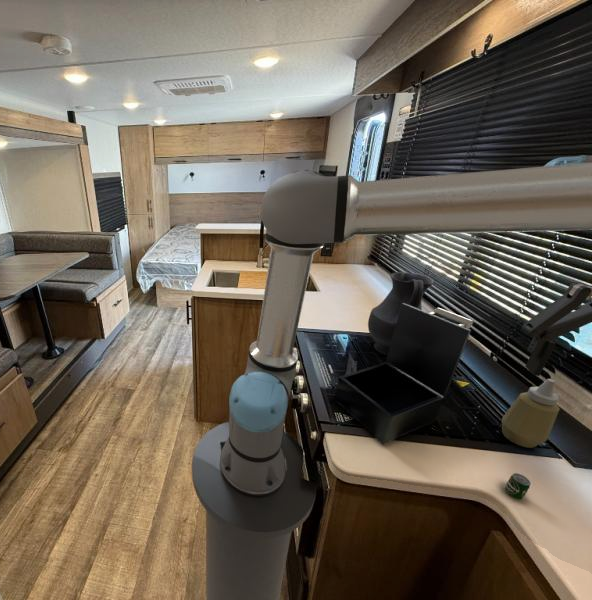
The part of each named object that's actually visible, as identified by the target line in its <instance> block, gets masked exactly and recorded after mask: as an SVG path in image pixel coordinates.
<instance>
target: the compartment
mask: <svg viewBox="0 0 592 600" xmlns="http://www.w3.org/2000/svg"><path fill="white" fill-rule="evenodd" d="M444 398H445V396H443V395H441V394H440V393H438V392H436V391H435V390H433V389H431V388H430V387H428V386H426V385H425V384H423V383H422V382H420V381H418V380H417V379H415V378H413V377H412V376H410V375H408V374H407V373H405V372H403V371H402V370H400V369H398V368H397V367H395V366H394V365H392V364H390V363H389V362H387V361H385V362H383V363H380V364H376V365H372V366H369V367H366V368H363V369H360V370H359V369H358V370H355V371H353V372H350V373H346V374H343V375H340V376H338V380H337V384H336V388H335V394H334V399H333V402H334V403H335V404H336V405H337V406H338V407H340V409H342V410H343V411H344V412H345V413H346V414H348V415H349V416H350V418H352V419H353V420H354V421H355V422H356V423H358V424H359V425H360V426H361V427H362V428H364V430H366V432H368V433H369V434H370V435H372V436H373V437H374V438H375V439H376V440H377V441H378V442H380V443H381V445H386V444H388V443H390V442H393V441H395V440H398V439H400V438H402V437H405V436H407V435H409V434H412V433H414V432H417V431H419V430H421V429H424V428H426V427H428V426H432V425H433V424H434V423H435V422H436V419H437V416H438V413H439V412H440V408H441V406H442V404H443V401H444Z"/></svg>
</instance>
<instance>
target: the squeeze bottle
mask: <svg viewBox="0 0 592 600" xmlns="http://www.w3.org/2000/svg"><path fill="white" fill-rule="evenodd" d="M555 385H556V380H554V379H552V378H547V379H545V380H544V381H543V383H541V384H540V385H539V386H530V387H529V388H528V391H527V392H521V393H520V394H519V395H518V396H517V398H516V399H515V400H514V401H513V403H512V405H510V407H509V408H508V409H507V411H505V414H504V415H503V416H502V418H501V431H502V435H503V436H504V437H505V438H506V439H507V440H509V441H510V442H511V443H513V444H515V445H517V446H520V447H523V448H528V449H533V448H535V447H537V446H539V445H541V444H543V443H544V442H546V441H548V440H549V437H550V434H551V432H552V429H553V427H554V425H555V422H556V419H557V417H558V414H559V411H560V407H559V405H558V404H557V403H558V401H559V399H560V398H559V395H557V394H556V393H554V390H555Z"/></svg>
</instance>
